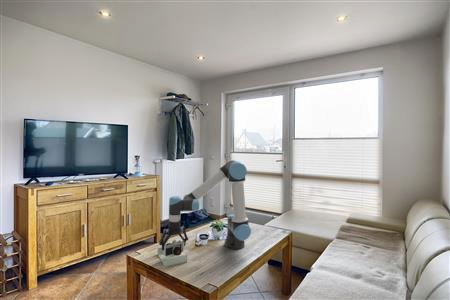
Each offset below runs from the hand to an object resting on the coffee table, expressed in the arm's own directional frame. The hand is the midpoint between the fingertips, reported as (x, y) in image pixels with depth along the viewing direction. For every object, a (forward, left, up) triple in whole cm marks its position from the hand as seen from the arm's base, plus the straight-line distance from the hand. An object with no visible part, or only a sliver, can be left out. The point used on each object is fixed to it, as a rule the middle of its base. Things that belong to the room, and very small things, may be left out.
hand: (173, 253), depth 158 cm
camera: (-1, 0, -1) cm, 1 cm away
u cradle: (+1, 0, -3) cm, 3 cm away
